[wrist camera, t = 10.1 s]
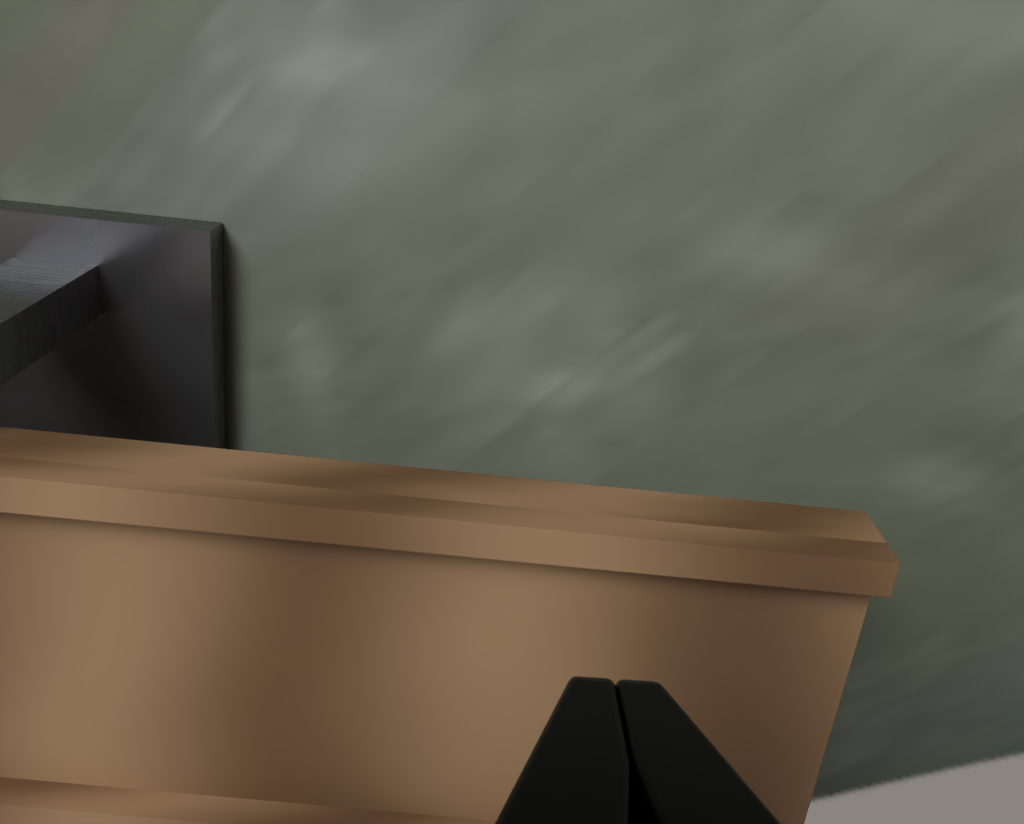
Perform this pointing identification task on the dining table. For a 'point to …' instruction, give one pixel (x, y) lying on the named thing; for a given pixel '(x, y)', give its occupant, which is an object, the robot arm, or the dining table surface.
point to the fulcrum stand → (111, 324)
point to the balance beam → (387, 631)
